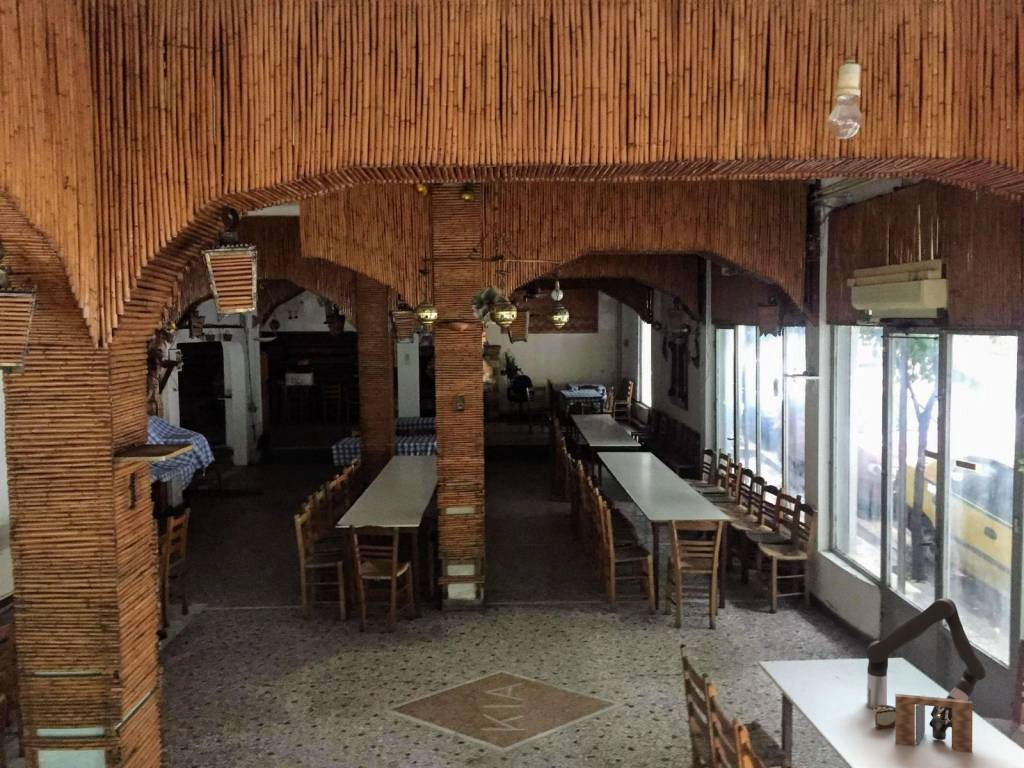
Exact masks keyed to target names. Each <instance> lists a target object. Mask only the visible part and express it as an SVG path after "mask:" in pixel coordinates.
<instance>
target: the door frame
mask: <svg viewBox="0 0 1024 768" xmlns="http://www.w3.org/2000/svg"><path fill="white" fill-rule="evenodd" d="M946 698H947V697H945V698H944V697H934V696H926V695H924V696H922V695H914V694H913V695H912V694H901V693H895V702H894V703H895V706H894V707H895V731H894V734H895V736H894V737H895V738H894V741H895V745H902V746H908V747H909V746H911V747H916V746H915V745H916V705H925V707H926V706H927V707H928V706H929V707H934V706H937V707H947V708H952V728H951V749H952V751H956V752H965V753H966V752H967V753H973V708H974V707H973V705H974V704H973V701H972V700H957V699H946Z"/></svg>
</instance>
